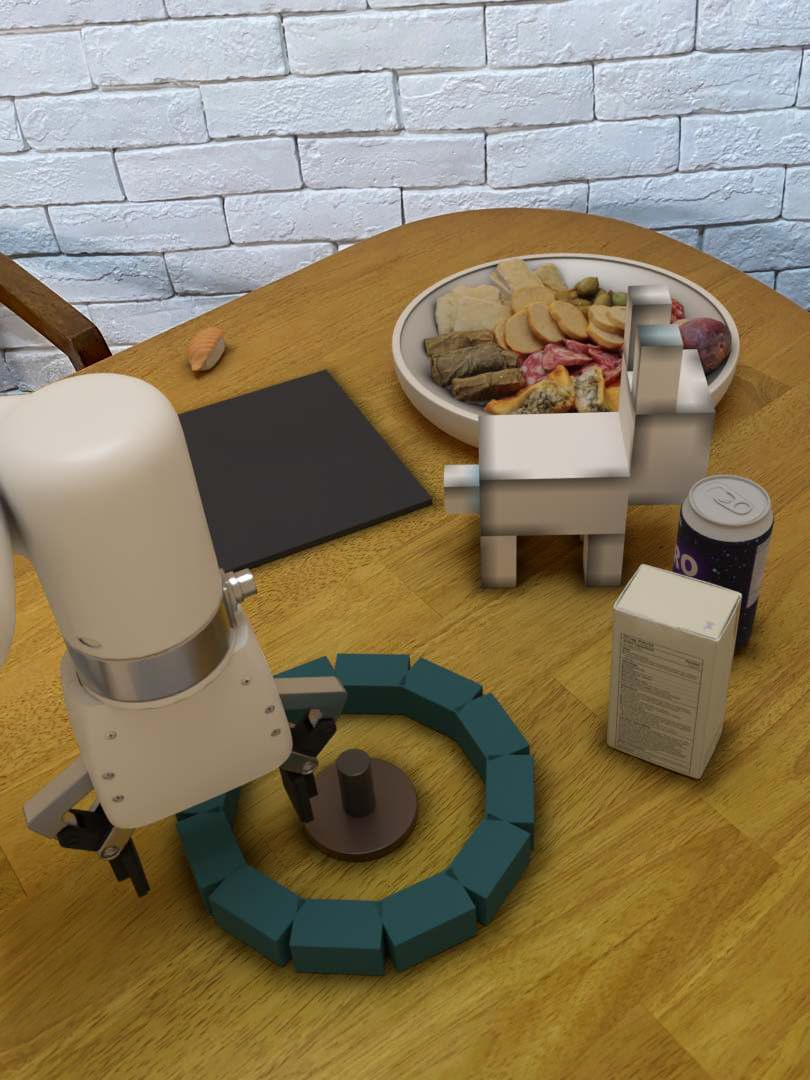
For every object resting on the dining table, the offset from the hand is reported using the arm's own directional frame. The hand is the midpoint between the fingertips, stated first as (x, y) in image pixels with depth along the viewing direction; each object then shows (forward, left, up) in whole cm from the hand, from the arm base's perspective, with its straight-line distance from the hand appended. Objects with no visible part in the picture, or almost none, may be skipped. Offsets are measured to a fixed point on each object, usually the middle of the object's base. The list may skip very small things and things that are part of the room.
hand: (220, 838), depth 64 cm
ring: (+8, 0, -3) cm, 9 cm away
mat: (+14, +35, -3) cm, 38 cm away
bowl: (+43, +34, -3) cm, 55 cm away
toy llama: (+31, +14, -3) cm, 35 cm away
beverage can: (+35, +2, -3) cm, 36 cm away
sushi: (+16, +54, -3) cm, 57 cm away
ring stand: (+8, 0, -3) cm, 9 cm away
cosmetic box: (+27, -4, -3) cm, 28 cm away
